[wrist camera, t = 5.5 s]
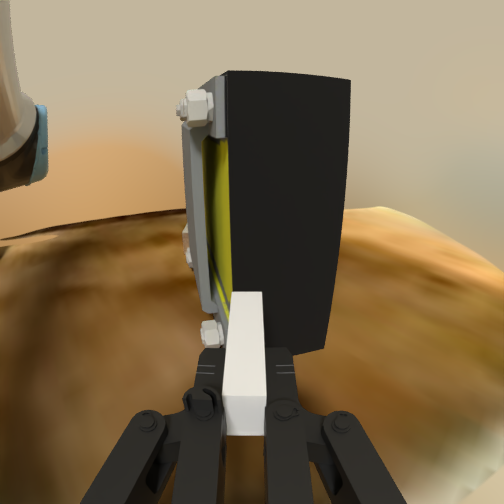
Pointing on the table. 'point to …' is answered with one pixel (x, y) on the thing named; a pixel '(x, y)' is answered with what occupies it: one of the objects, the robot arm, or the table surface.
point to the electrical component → (266, 198)
